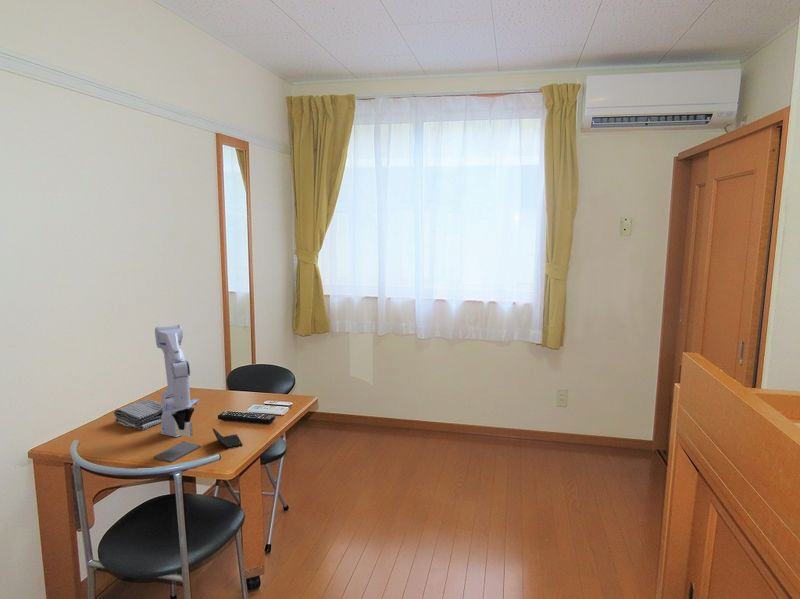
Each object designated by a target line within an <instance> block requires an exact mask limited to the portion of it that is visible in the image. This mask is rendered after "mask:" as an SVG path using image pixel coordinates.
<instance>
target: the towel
mask: <svg viewBox="0 0 800 599" xmlns="http://www.w3.org/2000/svg"><path fill="white" fill-rule="evenodd" d="M113 414H114V417H115V420H114V423H116V424H118V425H120V424H122V425H121V426H125V427H128V428H132V427H134V428H133V429H136V428H137V430H140V429H142V430H141V431H144V429H145V430H147V429H149V427H150V428H152V427H154V426H153V425H155V426H157V425H156V424H158V423H160V424H161V416H162V414H163V410H162V402H161V401H160V402H159V401H156V400H151V399H148V398H146V399H143V400H140V401H138V402H134V403H131V404H129V405H127V406H123V407H120V408H117V409H115V410H114V412H113ZM158 425H159V424H158ZM151 426H152V427H151Z"/></svg>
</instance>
